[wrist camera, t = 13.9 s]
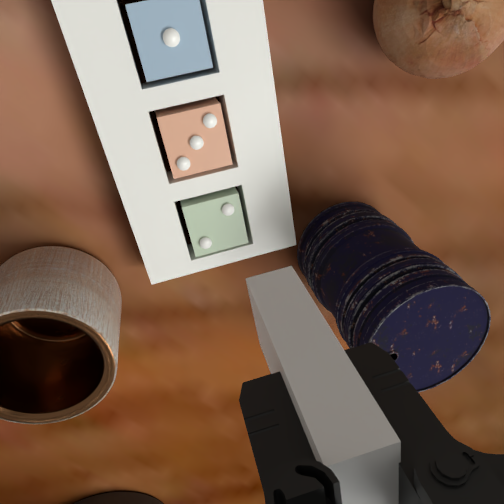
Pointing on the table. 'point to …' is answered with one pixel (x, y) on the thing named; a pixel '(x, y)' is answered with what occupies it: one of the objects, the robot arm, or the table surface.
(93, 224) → the table surface
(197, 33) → the button one dot
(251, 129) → the button panel
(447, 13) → the onion
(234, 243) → the button two dots
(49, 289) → the planter
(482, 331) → the navy blue cylinder
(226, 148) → the button three dots
